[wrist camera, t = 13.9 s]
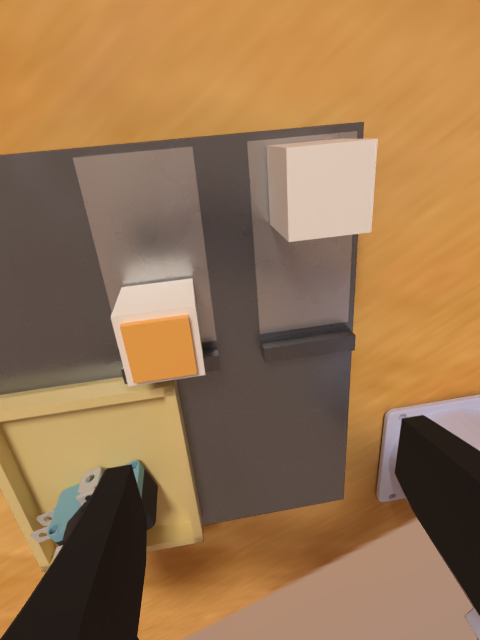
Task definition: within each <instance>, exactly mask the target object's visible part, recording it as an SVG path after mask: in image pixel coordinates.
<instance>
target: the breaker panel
mask: <svg viewBox="0 0 480 640" xmlns="http://www.w3.org/2000/svg"><path fill="white" fill-rule="evenodd" d="M363 130H364V122H358V123H345V124H335V125H324V126H313V127H302V128H291V129H280V130H269V131H258V132H247V133H236V134H225V135H214V136H203V137H192V138H182V139H171V140H160V141H149V142H138V143H127V144H116V145H105V146H94V147H83V148H72V149H61V150H50V151H39V152H29V153H18V154H7V155H0V395H3V394H10V393H16V392H23V391H30V390H37V389H43V388H50V387H57V386H64V385H70V384H77V383H84V382H91V381H98V380H104V379H111V378H118V377H123V379H124V383H125V384H127V380H126V376H125V372H124V368H123V364H122V360H121V356H120V352H119V348H118V344H117V340H116V337H115V333H114V329H113V325H112V321H111V314H112V312H113V309H114V306H115V304H116V301H117V298H118V296H119V293H120V290H121V287H127V286H135V285H143V284H151V283H159V282H167V281H175V280H183V279H191V278H193V285H194V292H195V299H196V306H197V313H198V320H199V327H200V334H201V341H202V350H203V359H204V367H205V375H202V376H195V377H189V378H182V379H176V381H177V387H178V392H179V397H180V403H181V408H182V413H183V419H184V424H185V429H186V435H187V440H188V445H189V451H190V456H191V462H192V467H193V472H194V478H195V483H196V488H197V494H198V499H199V504H200V510H201V515H202V521H203V525H208V524H213V523H219V522H224V521H229V520H235V519H240V518H245V517H251V516H256V515H261V514H267V513H272V512H277V511H283V510H288V509H293V508H299V507H304V506H309V505H315V504H320V503H325V502H331V501H336V500H341V499H344V482H345V463H346V445H347V426H348V407H349V389H350V370H351V352H352V350H355V334H354V333H353V315H354V296H355V278H356V259H357V241H358V234H352V235H344V236H336V237H327V238H319V239H311V240H302V241H294V242H288V241H287V240H286V239H285V238H284V237H283V236H282V235H281V234H280V233H279V232H278V231H276V230H275V229H274V228H273V227H272V226H271V225H270V211H269V189H268V168H267V147H266V146H268V145H278V144H289V143H299V142H310V141H320V140H331V139H341V138H346V139H363Z"/></svg>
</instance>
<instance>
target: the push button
mask: <svg viewBox="0 0 480 640" xmlns="http://www.w3.org/2000/svg"><path fill="white" fill-rule="evenodd" d="M130 464H132V467H133V471H134V474H135V478H136V482H137V485H138V489H139V492H140V496H141V499H142V503H143V506H144V510H145V514H146V517H147V530H148V529H151V528H152V527H153V526H154V525H155V523H156V512H157V493H158V485H157V484H156V483H155V481H154V480H153V479H152V477H151V476H150V475H149V473H148V472H147V471H146V470H145V468H144V467H143V466H142V464H141V463H140V462H139V461H138V460H134V461H132V462H129V463H128V464H126V465H130ZM123 466H124V465H123ZM101 471H102V469H101V468H99V467H98V468H96V469H93V470H91V471H89V472H86V473H85V474H84V475H83V476H82V478H81V482H80V484H77V485H75V486H72V487H70V488H68V489H66V490H64V491H63V492H62V493H61V494H60V496H59V498H58V501H57V505H56V507H54V508H52V511H50V512H47V513H45V514H43V515H40V516H38V517H37V518H36V520H37V521H38V522H39V523H40V524H42V525H43V526H47V527H44V528H42V529H39V530H37V531H35V532H32V533H31V535H30V536H31V537H32V538H33V539H35V540H36V541H37V542H43V541H45V540H48V539H50V538H51V539H52V540H53V541H54V542H55V543H56V544H57V545H59V547H57V548H56V550H55V554H54V558H56V556H57V554H58V553H59V551H60V549H61V548H62V546H63V544H64V543H65V541H66V539H67V538H68V536H69V534H70V533H71V531H72V529H73V528H74V526H75V524H76V522H77V521H78V519H79V517H80V515H81V514H82V512H83V510H84V508H85V506H86V505H87V503H88V501H89V499H90V497H91V496H92V494H93V492H94V490H95V488H96V486H97V484H98V482H99V480H100V478H101V477H102V475H103V474H102V475H101ZM92 475H95V477H94V478H92V479H89V480H87V479H88V478H89V477H90V476H92ZM45 517H51V518H52V520H50V521H47V520H45V519H44V518H45ZM40 533H46V534H47V536H45V537H42V536H40V535H39V534H40ZM137 640H139V639H138V637H137Z"/></svg>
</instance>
